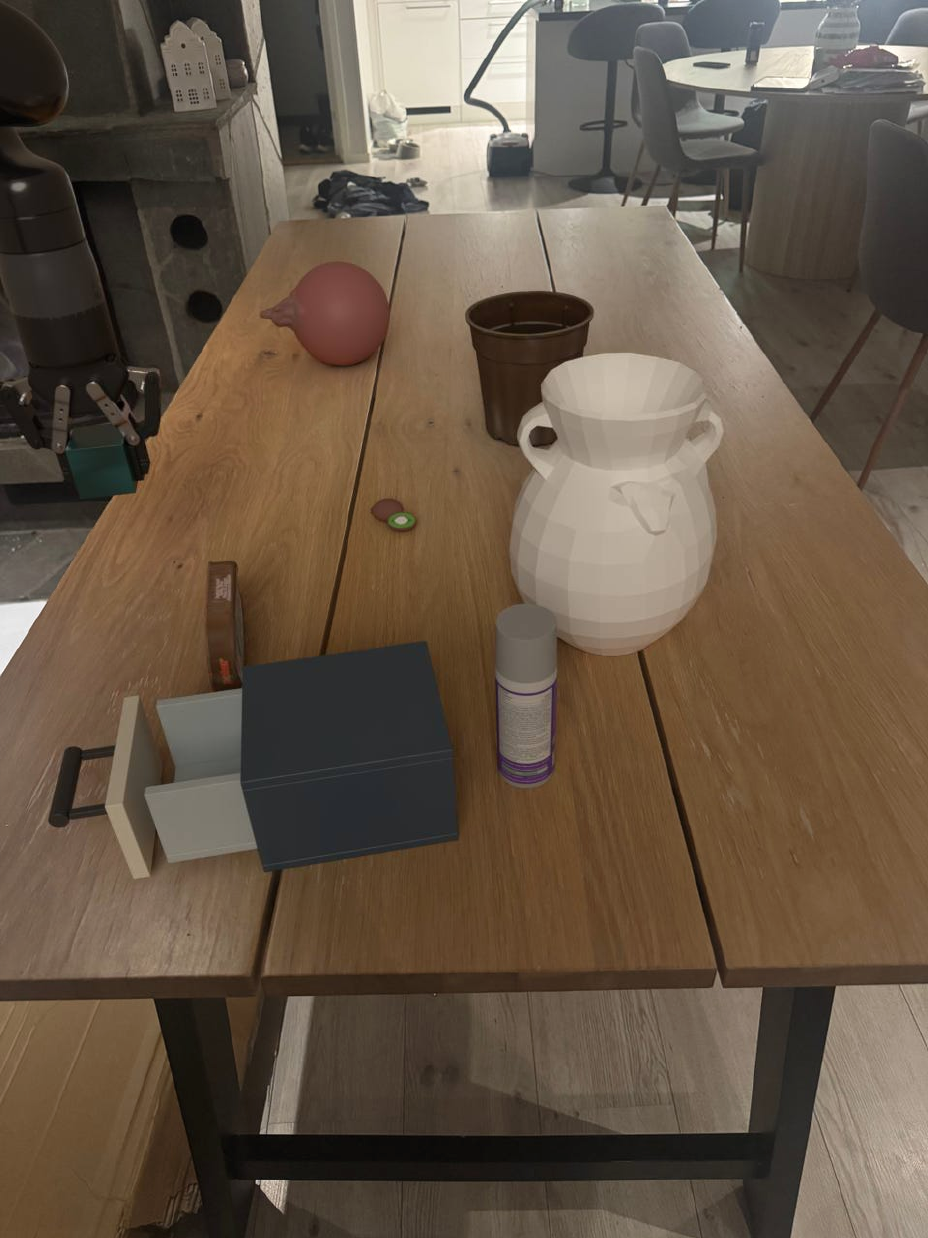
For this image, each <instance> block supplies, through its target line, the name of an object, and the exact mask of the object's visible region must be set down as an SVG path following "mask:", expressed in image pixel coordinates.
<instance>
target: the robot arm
mask: <svg viewBox="0 0 928 1238" xmlns="http://www.w3.org/2000/svg"><path fill="white" fill-rule="evenodd" d="M54 43H55V42H53V40H52V39H51V38H50V36H49V35H48V34H47V33H46V32H45V30H43V28H41V27H40V26H39V25H38V24H37V23H36V22H35V21H34V20H33V19H32V18H30V17H28V16H27V15H26V14H24V13H23V12H21V11H19V10H18V9H17V8H15V7H13V6H11V5H9V4H8V3H5V2H4V1H2V0H0V281H1V284H2V287H3V290H4V292H3V294H4V298H5V301H6V304H7V306H8V307H9V309H10V312H11V315H12V318H13V322H14V324H15V328H16V331H17V334H18V337H19V340H20V344H21V346H22V349H23V353H24V356H25V358H26V361H27V365H28V373H27V376H26V377H22V378H19V379H15V378H8V379H5V382H4V383H3V384H2V386H1V388H0V401H1V402H2V404H3V406H4V407H5V409H6V410H7V412H8V414H9V415H10V416H11V418H12V420H13V421H14V423H15V425H16V426H17V428H18V429H19V431H20V432H21V434H22V435H23V437H24V439H25V440H26V441H27V444H28V445H29V446H30V448H31V449H32V450H41V449H47V450H50V451H52V452H54V454H55V456H56V458H57V462H58V464H59V468H60V471H61V473H62V477H63V479H64V480H65V482H66V483H67V484H72V487H73V489H77V487H76V483H75V480H74V477H73V474H72V471H71V468H70V465H69V461H68V458H67V455H66V452H65V449H66V447H67V444H68V442H69V439H70V436H71V434H72V424H73V423H72V422H73V419H80V418H83V417H86V416H95V417H101V416H105V417H106V418H107V420H108V421H109V422H110V424H112V425H113V426H114V427H116V428H117V429H118V430H119V431H120V433H121V434H122V436H123V437H124V438H125V440H126V441H127V443H128V444H127V450H128V453H129V457H130V461H131V464H132V468H133V472H134V475H135V479H136V481H138V482H142V481H145V478H146V475H149V471H150V466H151V460H150V456H149V451H148V448H147V444H146V439H148V438H155V437H157V436H158V434H159V432H160V426H161V419H162V369H161V367H160V366H159V365H157V364H150V365H149V366H148V367H147V368H145V367H139V366H130V365H129V363H128V362H127V361H126V359H124V357H123V355H122V354H121V352H120V349H119V345H118V341H117V338H116V333H115V330H114V326H113V323H112V319H111V315H110V311H109V307H108V304H107V300H106V296H105V291H104V288H103V284H102V280H101V276H100V273H99V269H98V266H97V263H96V260H95V258H94V255H93V253H92V251H91V248H90V246H89V242H88V240H87V237H86V232H85V228H84V224H83V221H82V217H81V213H80V209H79V205H78V203H77V198H76V194H75V191H74V188H73V184H72V181H71V178H70V176H69V174H68V173H67V171H66V169H65V168H64V167H63V166H61V165H60V164H59V163H57V162H56V161H52V160H50V159H48V158H45V157H42V156H39V155H37V154H35V153H33V152H32V151H31V150H29V149H28V148H27V146H26V144H25V143H24V142H23V140H22V138H21V137H20V135H19V133H18V131H17V130H16V128H35V127H40V126H44V125H46V124H49V123H50V122H52V121H54V120H55V119H57V118H58V117H59V115H61V113H62V112H63V110H64V109H65V107H66V105H67V102H68V97H69V93H70V91H69V90H70V83H69V76H68V71H67V68H66V65H65V62H64V59H63V57H62V55H61V53H60V52H59V51H60V50H59V49H58V48H57V46H56V45H55V44H54ZM128 381H131V382H132V383H133V384H134V385H135V389H136V391H137V392H138V393H139V394H142V395H144V418H143V419H142V420H140V421H139V420H138V419H137V418H136V415H134V413H133V411H132V409H131V406H130V405H129V403H128V402H127V400H126V399H125V397H124V396H123V391H124V389H125V387H126V386H127V383H128ZM32 391H34V392H35V393H36V394H37V395H38V396H40V397H41V398H42V399H43V400H44V401H46V402H47V403H48V404H49V405H50V406H52V407H53V417H52V430H51V429H47V427H46V426H45V424H44V422H43V421H42V419H41V417H40V416H39V414H38V412H37V411H36V409H35V408H34V405H33V404H32V403H31V402H32V399H33V393H32Z"/></svg>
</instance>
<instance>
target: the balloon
mask: <svg viewBox="0 0 928 1238" xmlns="http://www.w3.org/2000/svg"><path fill="white" fill-rule="evenodd" d="M390 311H391V310H390V305H389V300H388V298H387V295H386V292H385V290H384V288H383V286H382V285H381V284H380V282H379V281H378V280H377V278H376V277H375V276H374V275H372V274H371V273H370V272H369V271H368V270H366V269H365V268H363V267H361V266H359V265H357V264H354V263H352V262H348V261H340V260H339V261H328V262H324V263H322V264H319V265H317V266H315V267H313V268H311V269H310V270H309V271H307V272H306V273H305V274H304V275H303V276H302V277H301V279H300V280H299V281H298V283H296V286H295V287H294V288H293V289H292V290H291V291H290V292H289V294H288V296H287V297H284V298H283V299H282V300H280V302H278V303H277V304H276V305H274V306H273V307H271V308H267V309H265V310H261V311H260V313H259V316H260V319H264V320H265V319H266V320H271V322H272V324H273V325H275V326H276V327H277V328H283V327H285V328H288V329H290V330H291V331H292V332H293V333H294V335H295V338H296V339H297V341H298V342H299V344H300V345H301V346H302V348H303V349H304V350H305V351H306V352H307V353H308V354H310V355H311V356H312V357H313V358H315V359H316V360H318V361H321V362H323V363H325V364H329V365H332V366H341V367H343V366H352V365H356V364H357V363H358V364H359V363H361V362H363V361H365V360H367V359H369V358H370V357H372V356H373V354H375V353H376V352H377V350H379V348H380V347H381V345H382V344H383V342H384V341H385V338H386V336H387V334H388V331H389V326H390V320H391V318H390V317H391V315H390V314H391V312H390Z"/></svg>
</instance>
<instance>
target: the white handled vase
mask: <svg viewBox="0 0 928 1238" xmlns="http://www.w3.org/2000/svg"><path fill="white" fill-rule="evenodd" d="M541 393H542V399H543V402H541V403H540V404H538V405H537V406H535V407H534V408H532V409H530V410H529V411H528V412H527V413H526V414H525V415H524V416H523V417H522V420H521V423H520V425H519V428H518V432H517V439H518V442H519V446H518V447H519V449H520V451H521V452H522V454H523V456H524V457H525V458H526V459H527V461H528V463H529V464H530V465H531V466H532V469H531V471H530V472H529V473H528V475H527V477H526V478H525V479H524V481H523V483H522V485H521V488H520V491H519V494H518V496H517V499H516V501H515V503H514V510H513V516H512V523H511V528H510V529H511V530H510V537H509V538H510V539H509V561H510V573H511V576H512V578H513V580H514V583H515V586H516V588H517V591H518V594H519V596H520V597H521V600H522V602H523V604H535V605H539V606H542V607H545V608H547V609H548V610H550V611H551V612H552V613H553V614H554V615H555V617H556V620H557V638H559V639H560V640H562V641H563V642H565V643H567V644H568V645H570V646H572V647H573V648H575V649H577V650H580V651H583V652H584V653H587V654H590V655H591V654H592V655H597V656H602V657H621V656H627V655H632V654H635V653H638V652H639V651H642V650H643V649H645V648H647V647H648V646H650V645H651V644H653V643H654V642H656V641H657V640H659V639H660V638H662V637H663V636H665V635H667V633H669V632H670V631H671V630H672V629H673V628H674V627H675V626H677V624H678V623H680V622H681V621H682V620H683V619H684V618H685V617H686V615H687V614H688V613H689V612H690V610H691V609H692V608H693V607H694V606H695V604H696V603H697V601H698V599H699V598H700V596H701V594H702V593H703V591H704V589H705V587H706V585H707V584H708V580H709V575H710V571H711V567H712V563H713V558H714V554H715V549H716V544H717V541H718V526H717V511H716V505H715V499H714V496H713V493H712V489H711V487H710V483H709V478H708V470H707V461H708V460H709V458H710V457H711V456H712V455H713V454H714V452H715V451H716V450H717V449H718V448H719V446H720V445H721V441H722V439H723V435H724V433H725V430H724V427H723V423H722V422H723V421H722V418H721V414H720V413H719V412H718V410H717V409H716V408H715V407H714V406H713V404H712V403H711V402H710V401H709V400H708V399H707V397H708V393H707V385H706V383H705V381H704V380H703V378H702V377H700V375H699V374H698V373H697V372H696V371H695V370H693V369H692V368H690V367H688V366H686V365H685V364H683V363H681V362H679V361H676V360H671V359H668V358H664V357H660V356H655V355H654V356H653V355H647V354H640V353H634V352H611V353H599V354H593V355H587V356H583V357H581V358H577V359H574V360H570V361H567V362H564V363H563V364H561V365H559V366H557V367H556V368H554V369H552V370H551V371H550V373H549V374H548V375H547V377H546V378H545V380H544V381H543V382H542V384H541ZM704 421H708V423H707V425H706V427H705V430H704V431H703V432H701V433H700V434H698V435H697V436H695V437H694V438H693V439H691V440H690V439H689V437H687V435H688V434H689V432H690V431H691V430H692V428H693V426H694V425H695V423H698V422H699V423H700V422H704ZM536 426H544V427H551V428H553V429H554V431H555V432H556V435H557V438H558V439H557V440H556V441H555V442H554V443H551V444H550V445H549V446H548V448H547V449H543V448H538V447H535V446H532V445H531V444H530V440H529V434H530V432H531V430H532V429H533V428H535V427H536Z"/></svg>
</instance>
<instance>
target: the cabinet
mask: <svg viewBox="0 0 928 1238" xmlns="http://www.w3.org/2000/svg"><path fill="white" fill-rule="evenodd" d="M433 666H434V665H433V662H432V658H431V653H430V649H429V645H428V641H427V640H422V641H414V642H408V643H400V644H394V645H386V646H380V647H372V648H366V649H365V648H364V649H359V650H357V649H356V650H350V651H344V652H337V653H329V654H321V655H314V656H307V657H302V658H301V657H300V658H295V659H286V660H279V661H273V662H267V663H265V662H264V663H258V664H252V665H251V664H250V665H244V666H243V671H242V687H241V688H242V720H241V769H240V784H241V788H242V792H243V795H244V799H245V803H246V807H247V811H248V814H249V818H250V822H251V826H252V830H253V833H254V837H255V841H256V845H257V849H256V850H257V852H258V856H259V859H260V863H261V868H262V871H263V873H270V872H275V871H282V870H288V869H293V868H300V867H305V866H311V865H318V864H324V863H329V862H335V861H342V860H347V859H353V858H359V857H360V858H361V857H365V856H371V855H378V854H383V853H388V852H396V851H401V850H407V849H415V848H419V847H425V846H430V845H432V846H433V845H438V844H443V843H448V842H449V843H450V842H455V841H456V842H457V841H459V828H458V827H459V825H458V812H457V811H458V809H457V796H456V781H455V766H454V765H455V763H454V749H453V746H452V741H451V737H450V734H449V729H448V724H447V721H446V720H447V719H446V715H445V713H444V707H443V703H442V699H441V695H440V691H439V687H438V683H437V678H436V674H435V670H434V667H433Z"/></svg>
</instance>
